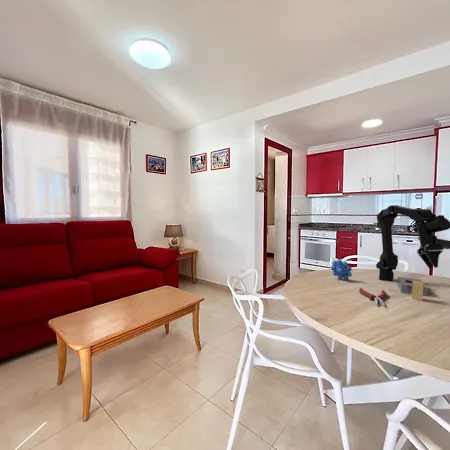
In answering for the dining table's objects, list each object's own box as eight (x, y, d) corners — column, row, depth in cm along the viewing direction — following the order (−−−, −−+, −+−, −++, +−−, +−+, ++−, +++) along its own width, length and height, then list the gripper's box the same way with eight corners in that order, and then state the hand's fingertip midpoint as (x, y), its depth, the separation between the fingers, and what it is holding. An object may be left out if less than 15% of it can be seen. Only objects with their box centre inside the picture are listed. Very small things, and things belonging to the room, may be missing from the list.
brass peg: (412, 299, 111) (413, 282, 110) (411, 297, 114) (411, 280, 113) (422, 301, 109) (423, 283, 108) (420, 298, 112) (421, 281, 112)
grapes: (328, 279, 142) (329, 259, 141) (331, 277, 148) (331, 257, 147) (350, 283, 136) (351, 261, 135) (352, 280, 141) (352, 259, 140)
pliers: (365, 306, 104) (365, 300, 104) (358, 291, 123) (358, 286, 123) (397, 310, 100) (397, 304, 100) (384, 294, 119) (384, 289, 119)
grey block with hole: (401, 292, 120) (401, 284, 120) (397, 283, 134) (397, 276, 134) (426, 296, 115) (427, 287, 115) (420, 286, 129) (420, 279, 129)
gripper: (455, 229, 103) (464, 266, 99) (442, 236, 119) (449, 268, 115) (422, 231, 108) (430, 267, 104) (414, 238, 124) (420, 269, 120)
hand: (433, 267), depth 111 cm, fingers open, 9 cm apart
